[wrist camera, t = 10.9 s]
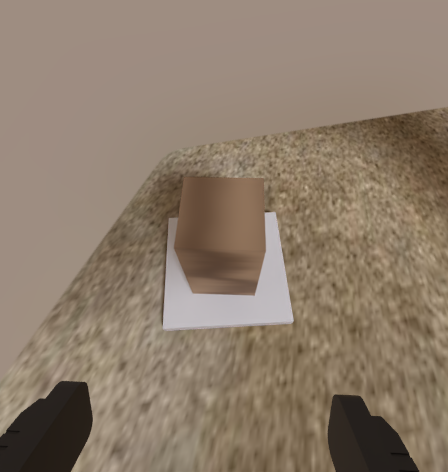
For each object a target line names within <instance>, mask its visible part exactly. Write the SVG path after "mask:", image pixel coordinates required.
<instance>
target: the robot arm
mask: <svg viewBox="0 0 448 472" xmlns="http://www.w3.org/2000/svg"><path fill="white" fill-rule="evenodd" d="M92 422H93V416H92V410H91V404H90V397H89V391H88V386H87V383H86V382H73V381H61V382H59V383H58V384H57V385H56V386H55V387H54V389H53V390H52V391H51V392H50V394H49V395H48V396H47V397H46V399H38V400H37V401H36V402H35V403H33V404H32V405H31V406H29V407H28V408H27V409H25V410H24V411H23V412H21V414H20V415H19V416H18V417H17V418H16V419H15V421H14V422H13V423H12V424H11V425H10V427H9V428H8V429H7V430H6V433H5V434H3V435H2V436H1V437H0V472H71V470H72V468H73V466H74V464H75V463H76V461H77V459H78V457H79V455H80V453H81V451H82V449H83V447H84V446H85V444H86V442H87V440H88V437H89V435H90V432H91V428H92ZM328 444H329V450H330V454H331V457H332V461H333V464H334V467H335V470H336V472H419V470H418V468H417V466H416V465H415V463H414V461H413V459H412V458H410V456H409V452H408V451H407V449H406V447H405V445H404V444H403V442H402V440H401V438H400V437H399V435H398V433H397V432H396V431H395V430H394V429H393V428H392V427H391V426H390V425H389V424H388V423H387V422H386V421H385V420H384V419H383V418H382V417H381V416H371V415H370V413H369V411H368V409H367V407H366V405H365V403H364V401H363V399H362V398H361V397H360V396H355V395H334V396H333V399H332V406H331V412H330V419H329V426H328Z"/></svg>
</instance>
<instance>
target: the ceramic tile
mask: <svg viewBox="0 0 448 472" xmlns="http://www.w3.org/2000/svg"><path fill="white" fill-rule="evenodd" d="M177 222H178V218H169V223H168V242H167V260H166V279H165V297H164V316H163V329H164V330H165V331H170V330H187V329H205V328H223V327H241V326H258V325H276V324H292V323H293V322H294V321H293V315H292V309H291V303H290V297H289V291H288V285H287V279H286V273H285V267H284V261H283V255H282V249H281V243H280V237H279V231H278V225H277V219H276V213H275V212H268V213H265V235H266V253H265V257H264V261H263V265H262V269H261V273H260V277H259V281H258V285H257V289H256V293H255V296H251V295H222V294H193V293H192V291H191V288H190V286H189V283H188V281H187V279H186V276H185V274H184V272H183V269H182V267H181V264H180V262H179V260H178V257H177V255H176V252H175V250H174V243H175V236H176V229H177Z"/></svg>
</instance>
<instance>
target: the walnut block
mask: <svg viewBox="0 0 448 472" xmlns="http://www.w3.org/2000/svg"><path fill="white" fill-rule="evenodd" d="M174 250H175V252H176V255H177V257H178V260H179V262H180V264H181V267H182V269H183V272H184V274H185V276H186V279H187V281H188V283H189V286H190V288H191V291H192V293H193V294H222V295H251V296H255V293H256V289H257V285H258V281H259V277H260V273H261V269H262V265H263V261H264V257H265V253H266V235H265V205H264V178H219V177H184V180H183V187H182V194H181V201H180V208H179V215H178V222H177V229H176V236H175V243H174Z"/></svg>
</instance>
